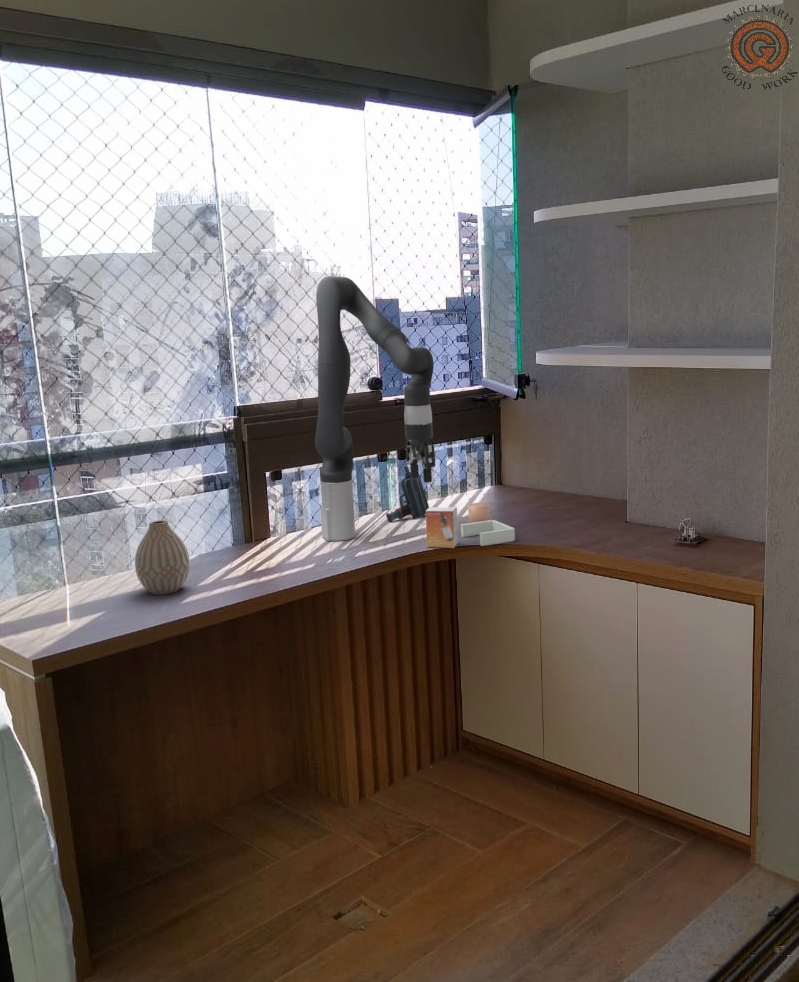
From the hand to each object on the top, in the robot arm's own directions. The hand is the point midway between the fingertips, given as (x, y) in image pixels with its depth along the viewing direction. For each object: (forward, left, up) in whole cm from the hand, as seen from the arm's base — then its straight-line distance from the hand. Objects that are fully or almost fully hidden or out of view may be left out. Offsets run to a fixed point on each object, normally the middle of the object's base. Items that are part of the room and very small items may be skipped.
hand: (421, 479), depth 262 cm
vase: (-72, -6, -19) cm, 75 cm away
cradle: (+19, -2, -19) cm, 27 cm away
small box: (+5, -2, -19) cm, 20 cm away
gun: (+10, +35, -19) cm, 41 cm away
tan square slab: (+23, +11, -19) cm, 32 cm away
